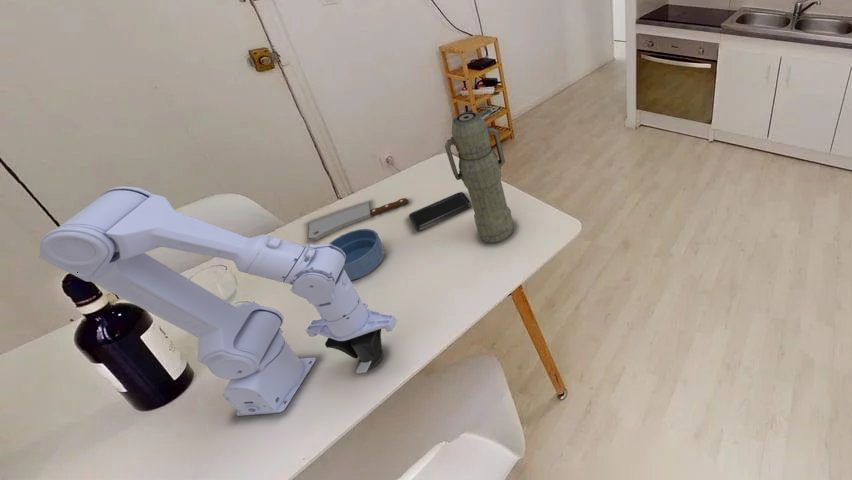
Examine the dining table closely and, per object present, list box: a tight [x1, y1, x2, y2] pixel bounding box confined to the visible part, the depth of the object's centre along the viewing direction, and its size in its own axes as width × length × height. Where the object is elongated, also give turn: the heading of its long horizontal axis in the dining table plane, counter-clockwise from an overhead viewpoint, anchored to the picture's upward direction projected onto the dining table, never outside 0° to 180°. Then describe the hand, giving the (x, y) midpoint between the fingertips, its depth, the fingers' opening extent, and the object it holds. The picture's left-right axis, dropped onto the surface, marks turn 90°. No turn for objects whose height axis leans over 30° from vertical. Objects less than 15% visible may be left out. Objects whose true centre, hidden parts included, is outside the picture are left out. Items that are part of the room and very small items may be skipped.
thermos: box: [444, 111, 515, 245], centre depth 100 cm, size 9×12×35 cm
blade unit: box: [350, 336, 385, 374], centre depth 77 cm, size 6×4×7 cm, turn 3°
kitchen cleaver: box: [308, 197, 409, 242], centre depth 115 cm, size 24×1×10 cm
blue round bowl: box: [328, 228, 386, 281], centre depth 99 cm, size 12×12×6 cm
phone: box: [408, 191, 472, 232], centre depth 115 cm, size 8×1×15 cm
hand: (368, 352), depth 78 cm, fingers closed on blade unit, 3 cm apart
